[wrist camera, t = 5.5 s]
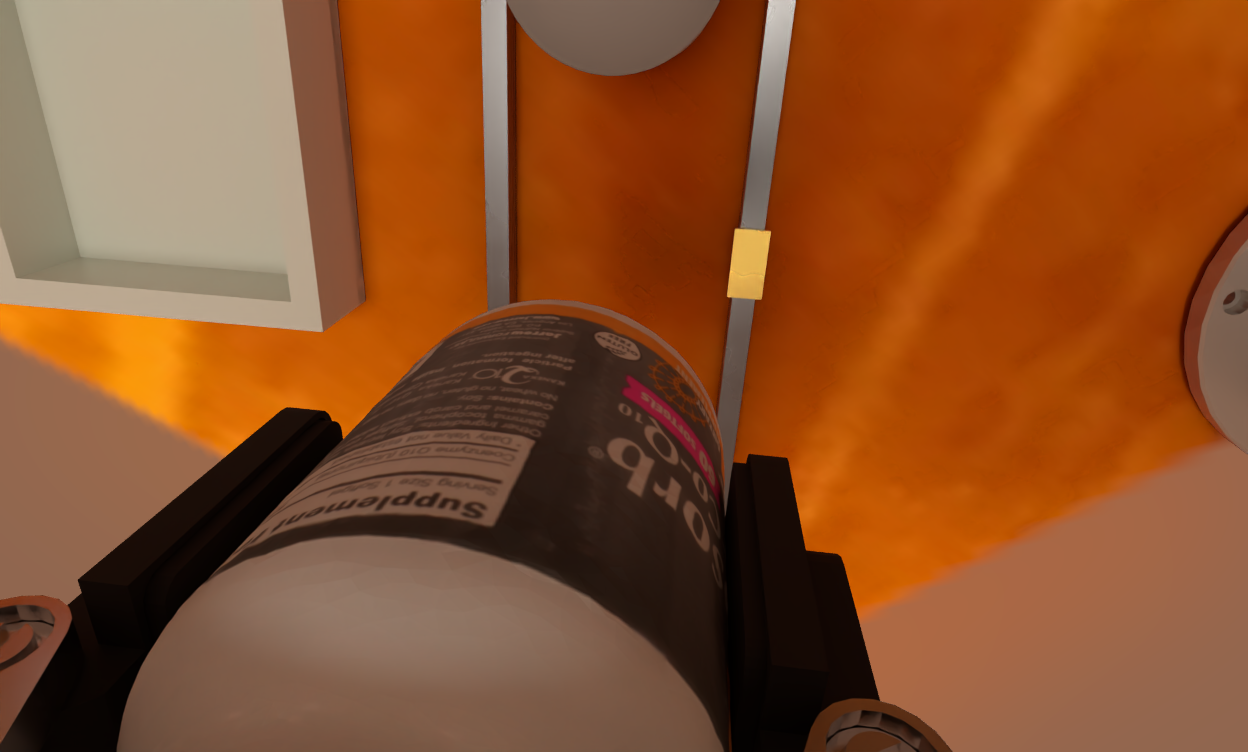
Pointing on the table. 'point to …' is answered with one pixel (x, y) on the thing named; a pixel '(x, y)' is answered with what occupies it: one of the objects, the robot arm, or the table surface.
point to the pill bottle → (477, 566)
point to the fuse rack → (754, 203)
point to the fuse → (613, 31)
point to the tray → (178, 161)
